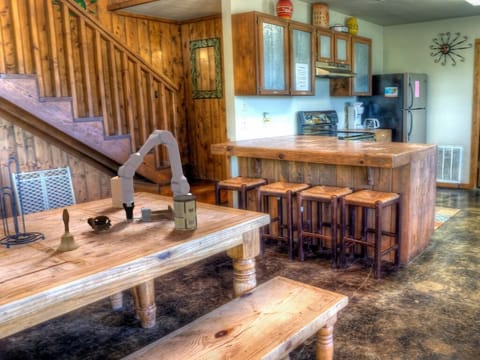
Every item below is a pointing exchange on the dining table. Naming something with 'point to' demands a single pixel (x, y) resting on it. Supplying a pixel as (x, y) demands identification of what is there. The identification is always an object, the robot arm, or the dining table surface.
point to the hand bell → (67, 235)
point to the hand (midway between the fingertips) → (129, 218)
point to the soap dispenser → (116, 192)
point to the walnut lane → (162, 214)
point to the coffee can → (185, 212)
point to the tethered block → (145, 215)
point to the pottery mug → (99, 223)
